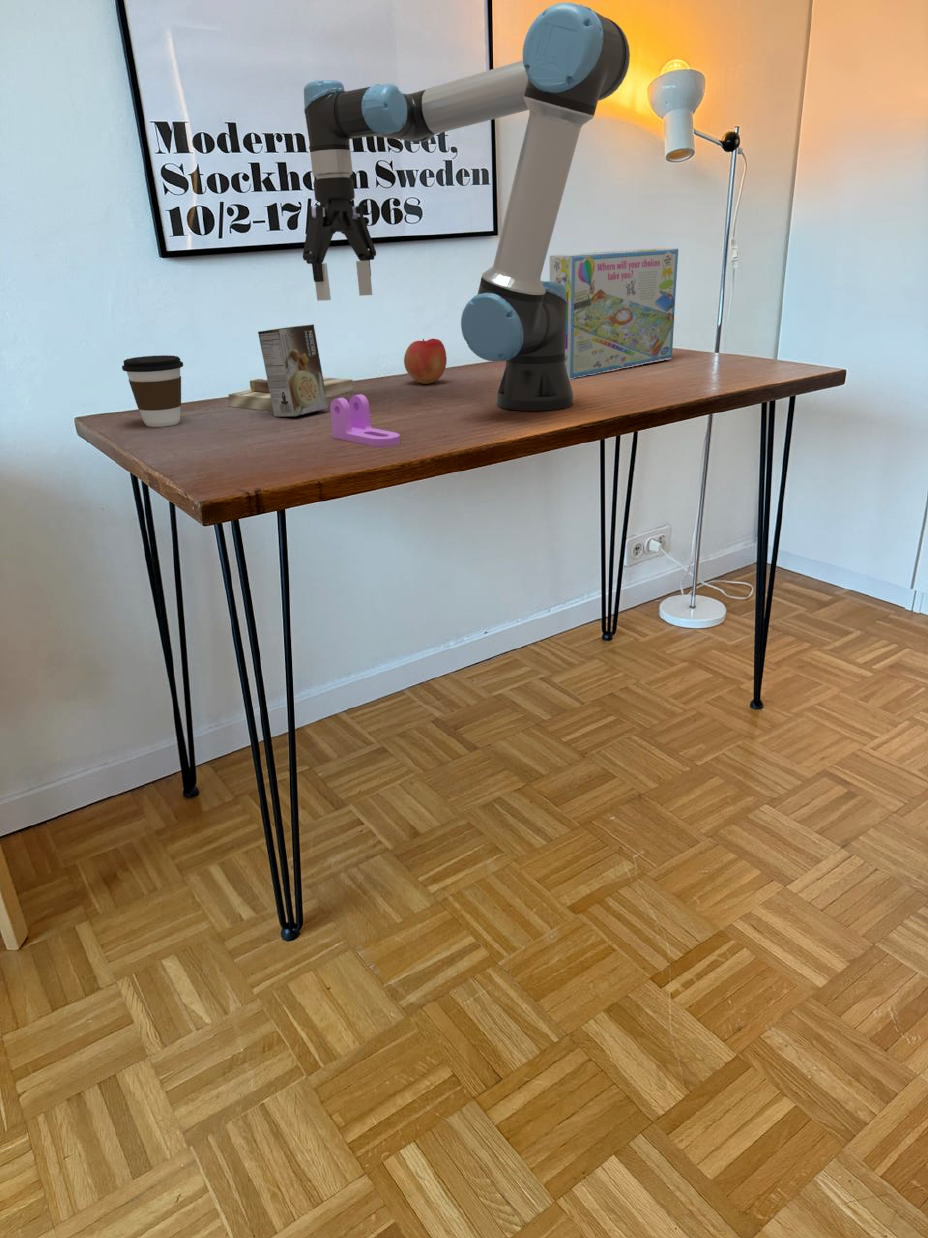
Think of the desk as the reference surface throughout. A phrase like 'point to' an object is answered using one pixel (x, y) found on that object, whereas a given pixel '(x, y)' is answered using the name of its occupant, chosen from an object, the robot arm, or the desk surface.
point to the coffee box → (293, 370)
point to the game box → (617, 307)
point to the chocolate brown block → (259, 385)
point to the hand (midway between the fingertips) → (345, 297)
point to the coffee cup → (156, 388)
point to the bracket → (358, 423)
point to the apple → (425, 360)
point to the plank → (264, 400)
